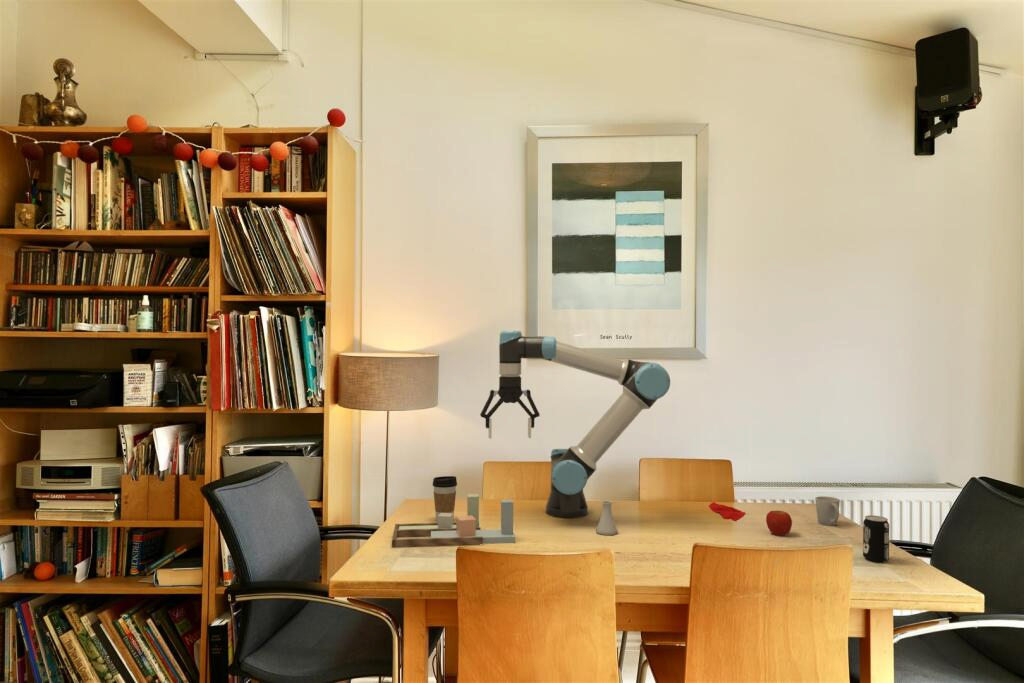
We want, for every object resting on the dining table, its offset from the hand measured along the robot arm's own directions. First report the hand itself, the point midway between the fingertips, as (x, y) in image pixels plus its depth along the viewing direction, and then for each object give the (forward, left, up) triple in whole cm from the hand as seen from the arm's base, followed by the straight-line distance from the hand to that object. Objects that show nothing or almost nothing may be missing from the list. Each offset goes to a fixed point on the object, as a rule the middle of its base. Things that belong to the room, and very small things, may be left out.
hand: (509, 437), depth 232 cm
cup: (-108, +14, -29) cm, 113 cm away
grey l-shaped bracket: (+24, +12, -28) cm, 39 cm away
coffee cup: (+22, -3, -29) cm, 36 cm away
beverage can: (-100, +50, -29) cm, 115 cm away
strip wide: (+14, +20, -28) cm, 38 cm away
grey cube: (+22, +12, -27) cm, 37 cm away
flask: (-30, +16, -29) cm, 45 cm away
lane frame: (+24, +17, -29) cm, 41 cm away
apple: (-85, +23, -29) cm, 93 cm away
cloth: (-80, -5, -30) cm, 85 cm away
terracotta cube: (+16, +20, -27) cm, 37 cm away
